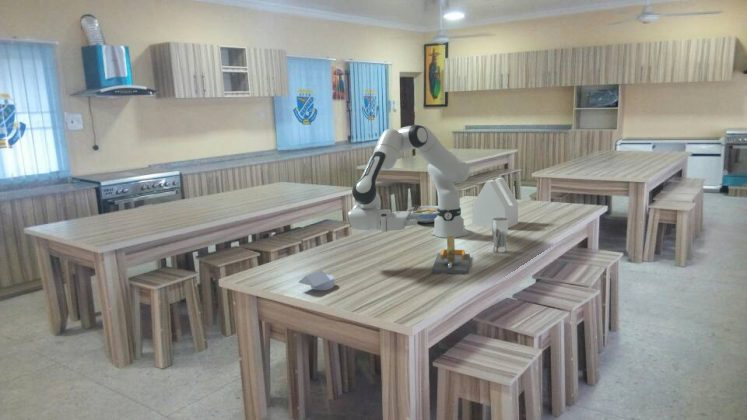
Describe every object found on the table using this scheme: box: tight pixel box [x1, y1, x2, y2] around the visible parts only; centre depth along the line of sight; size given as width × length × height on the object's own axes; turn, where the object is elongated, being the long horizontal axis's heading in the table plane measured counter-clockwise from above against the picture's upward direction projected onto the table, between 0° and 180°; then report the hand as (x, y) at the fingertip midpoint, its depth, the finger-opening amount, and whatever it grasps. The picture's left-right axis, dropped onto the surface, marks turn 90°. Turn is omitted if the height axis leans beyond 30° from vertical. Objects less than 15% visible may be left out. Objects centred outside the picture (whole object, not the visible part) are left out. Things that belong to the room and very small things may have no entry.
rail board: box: [431, 249, 471, 275], centre depth 230 cm, size 24×14×4 cm, turn 168°
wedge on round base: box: [298, 269, 335, 291], centre depth 208 cm, size 9×7×13 cm
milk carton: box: [471, 177, 519, 229], centre depth 297 cm, size 19×15×25 cm
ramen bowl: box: [406, 203, 438, 224], centre depth 312 cm, size 25×23×8 cm
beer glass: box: [491, 217, 509, 254], centre depth 245 cm, size 7×7×15 cm
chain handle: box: [443, 236, 459, 269], centre depth 223 cm, size 12×6×11 cm, turn 168°
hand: (418, 220), depth 226 cm, fingers open, 8 cm apart
